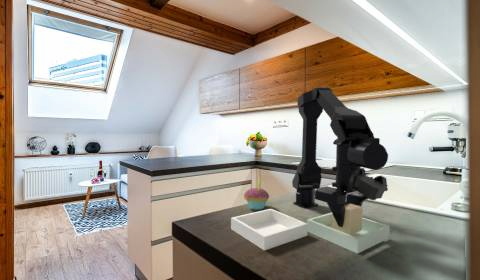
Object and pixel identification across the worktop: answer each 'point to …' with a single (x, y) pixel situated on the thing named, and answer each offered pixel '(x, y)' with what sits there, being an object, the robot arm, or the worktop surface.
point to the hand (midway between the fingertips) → (346, 224)
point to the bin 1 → (269, 228)
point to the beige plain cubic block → (350, 220)
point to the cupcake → (256, 197)
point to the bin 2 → (355, 242)
